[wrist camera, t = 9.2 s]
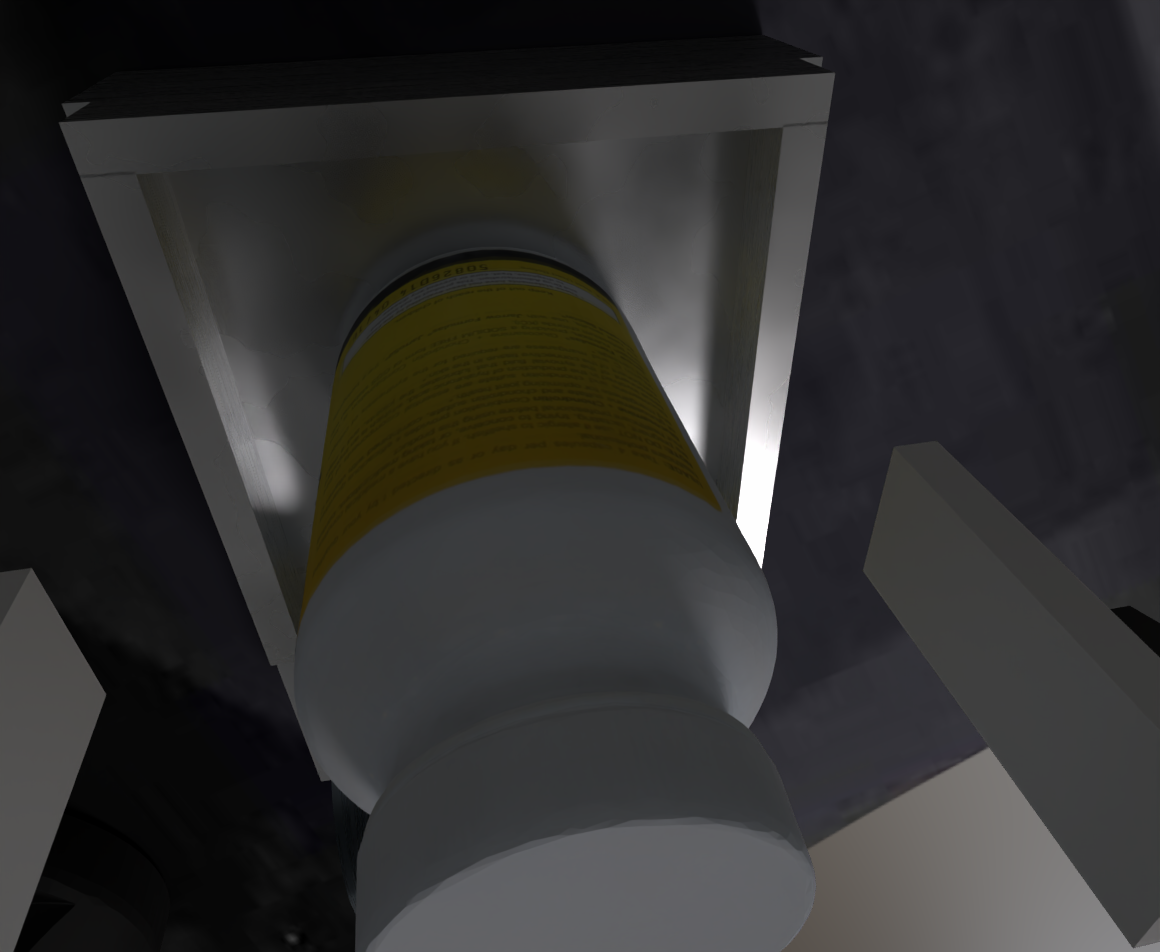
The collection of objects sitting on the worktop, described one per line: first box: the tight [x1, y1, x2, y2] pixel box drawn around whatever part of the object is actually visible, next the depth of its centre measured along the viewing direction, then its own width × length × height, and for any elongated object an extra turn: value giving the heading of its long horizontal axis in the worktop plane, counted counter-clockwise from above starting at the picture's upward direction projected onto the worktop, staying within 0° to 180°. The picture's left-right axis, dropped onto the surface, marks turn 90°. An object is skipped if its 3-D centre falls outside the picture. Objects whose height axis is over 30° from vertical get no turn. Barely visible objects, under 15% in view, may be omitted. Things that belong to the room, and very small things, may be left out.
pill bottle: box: [294, 247, 816, 952], centre depth 12 cm, size 6×6×12 cm
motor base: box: [59, 35, 835, 913], centre depth 17 cm, size 19×13×10 cm
